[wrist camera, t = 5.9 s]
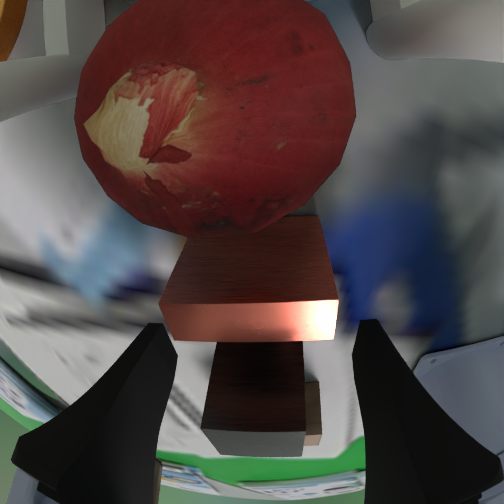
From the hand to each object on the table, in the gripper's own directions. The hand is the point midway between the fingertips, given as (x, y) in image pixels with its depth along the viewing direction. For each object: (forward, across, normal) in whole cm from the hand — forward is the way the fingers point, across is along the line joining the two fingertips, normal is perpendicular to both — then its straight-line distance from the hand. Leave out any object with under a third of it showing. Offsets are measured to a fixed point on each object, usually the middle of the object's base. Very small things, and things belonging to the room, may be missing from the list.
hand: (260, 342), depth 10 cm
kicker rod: (+4, 0, +6) cm, 7 cm away
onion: (+4, 0, -8) cm, 9 cm away
